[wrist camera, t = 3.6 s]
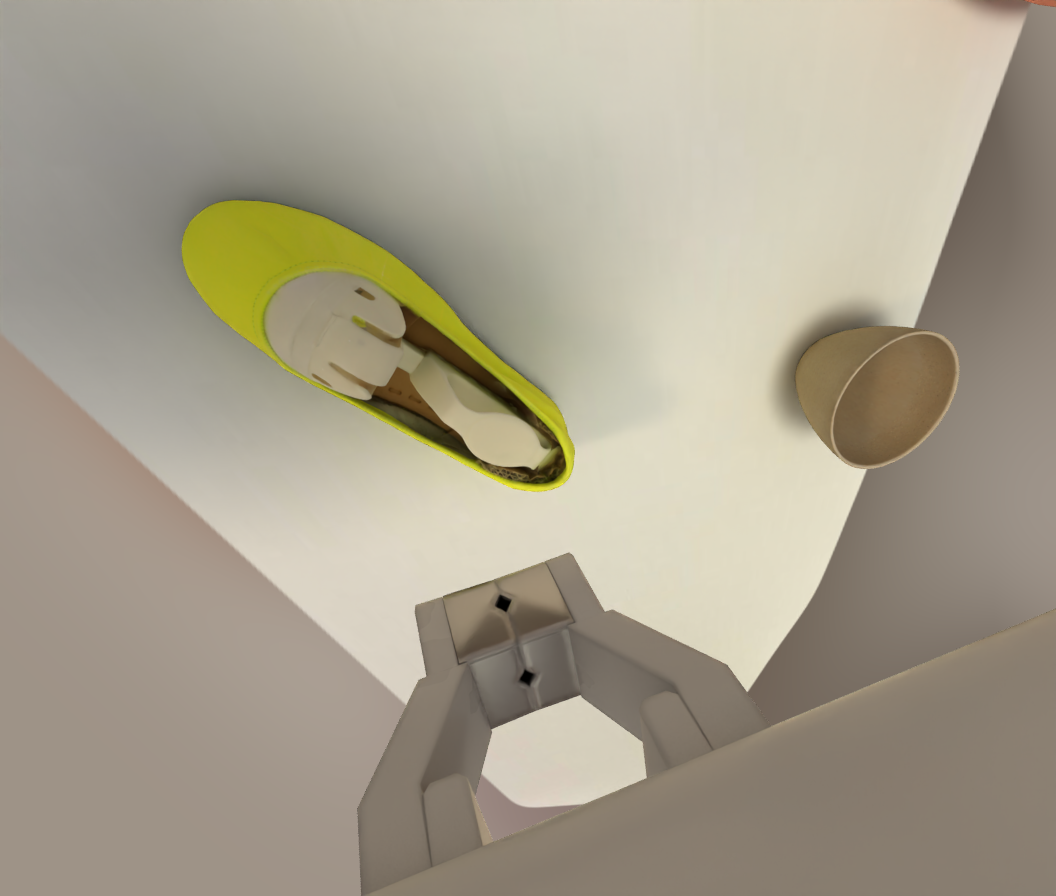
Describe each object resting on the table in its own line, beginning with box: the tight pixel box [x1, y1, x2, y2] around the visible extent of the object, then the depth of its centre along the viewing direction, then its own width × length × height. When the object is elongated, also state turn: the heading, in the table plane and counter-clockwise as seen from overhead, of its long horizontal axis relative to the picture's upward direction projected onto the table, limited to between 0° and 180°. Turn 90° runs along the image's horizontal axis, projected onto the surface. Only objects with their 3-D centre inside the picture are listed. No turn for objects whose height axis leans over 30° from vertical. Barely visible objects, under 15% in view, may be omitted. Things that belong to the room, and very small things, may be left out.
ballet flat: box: [182, 200, 575, 492], centre depth 33 cm, size 8×24×8 cm, turn 49°
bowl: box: [795, 326, 959, 469], centre depth 43 cm, size 10×10×7 cm
